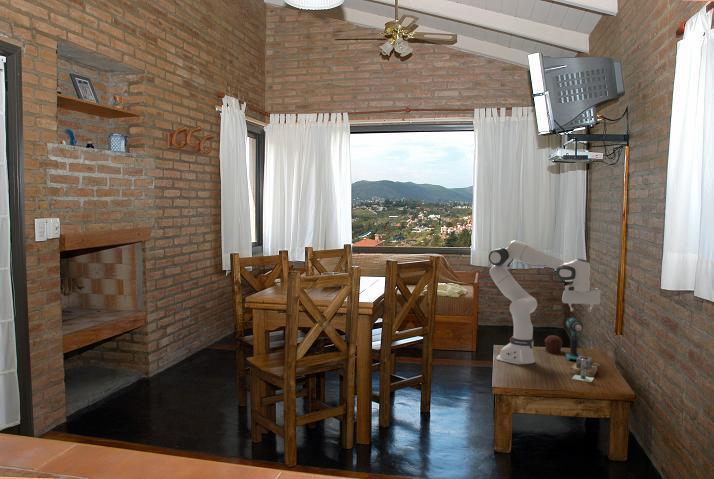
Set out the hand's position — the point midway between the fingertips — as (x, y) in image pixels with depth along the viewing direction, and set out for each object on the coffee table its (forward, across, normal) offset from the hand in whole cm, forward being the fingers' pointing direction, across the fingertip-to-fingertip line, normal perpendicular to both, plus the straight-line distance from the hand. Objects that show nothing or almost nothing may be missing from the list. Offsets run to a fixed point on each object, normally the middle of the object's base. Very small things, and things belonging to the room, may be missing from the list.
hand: (580, 311), depth 321 cm
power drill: (+34, -1, -23) cm, 41 cm away
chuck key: (+34, 0, +16) cm, 37 cm away
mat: (+34, 0, +16) cm, 38 cm away
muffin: (+34, +9, -42) cm, 55 cm away
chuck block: (+34, -3, +3) cm, 34 cm away
